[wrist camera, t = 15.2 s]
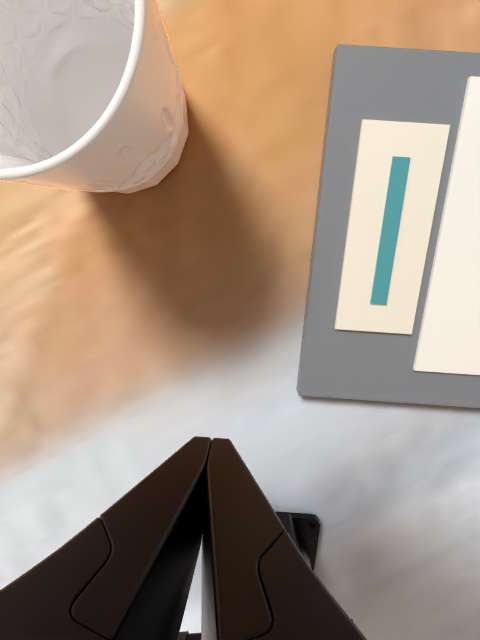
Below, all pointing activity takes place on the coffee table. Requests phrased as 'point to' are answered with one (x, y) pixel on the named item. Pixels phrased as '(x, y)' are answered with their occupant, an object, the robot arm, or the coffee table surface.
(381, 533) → the coffee table surface
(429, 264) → the drawing board
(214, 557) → the robot arm
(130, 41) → the white cup
